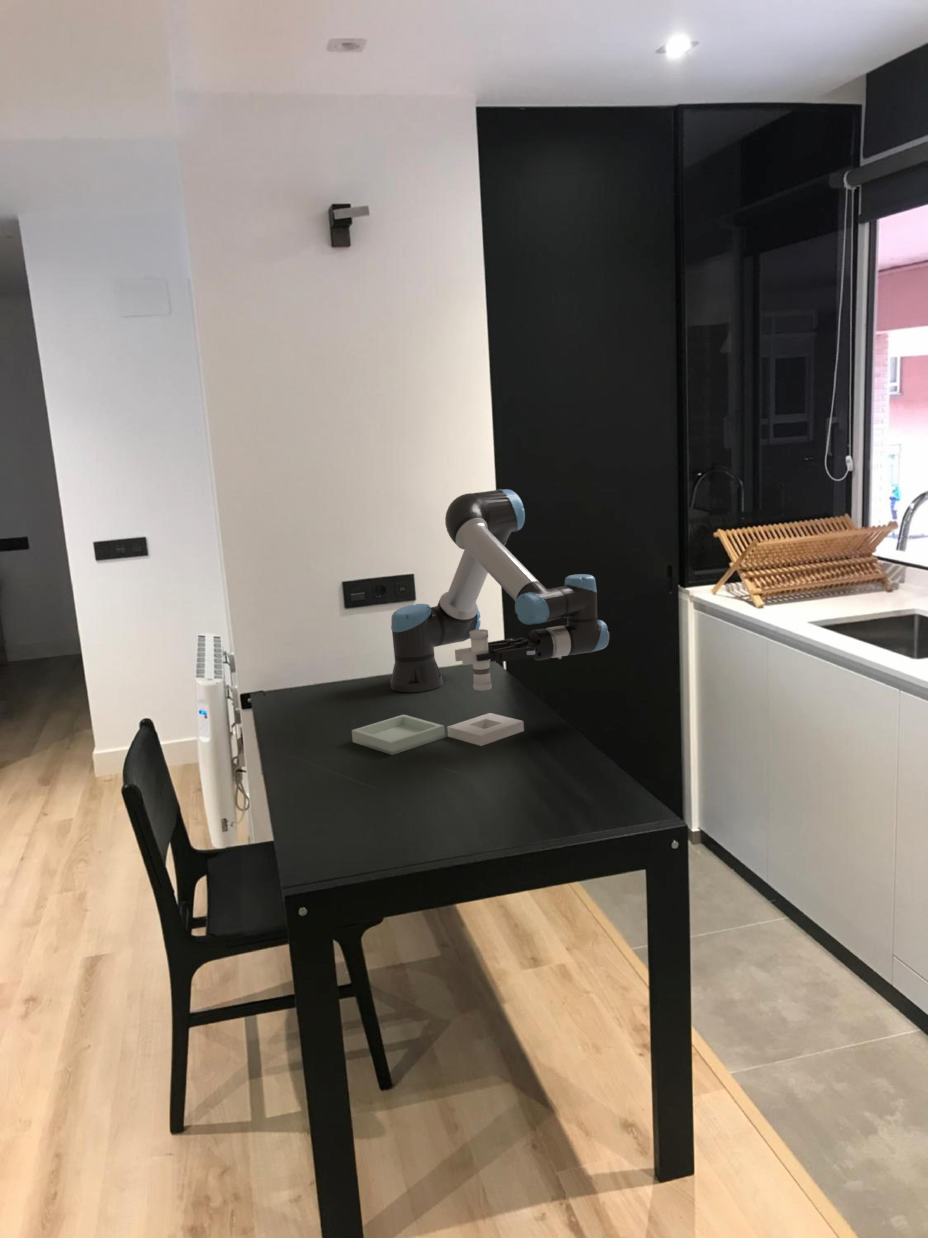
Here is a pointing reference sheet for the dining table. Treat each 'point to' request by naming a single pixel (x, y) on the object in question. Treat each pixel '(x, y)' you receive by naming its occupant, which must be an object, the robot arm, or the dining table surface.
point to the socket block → (485, 729)
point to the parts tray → (398, 734)
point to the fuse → (481, 669)
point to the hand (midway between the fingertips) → (459, 657)
